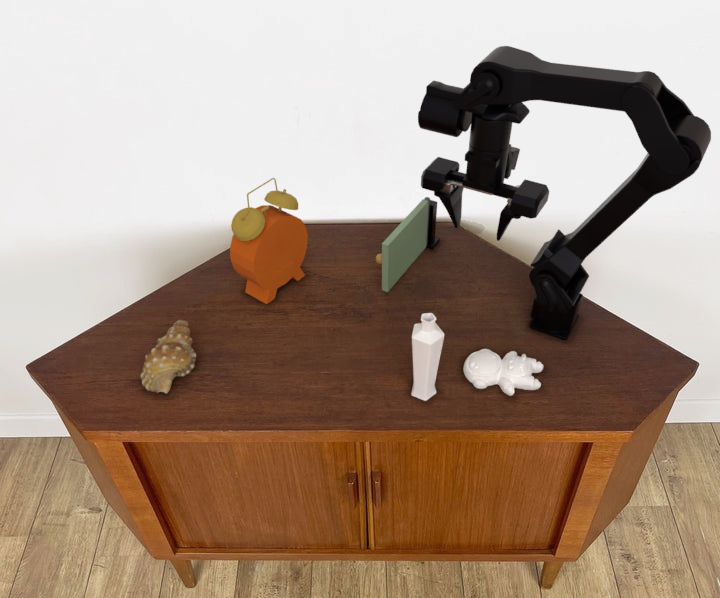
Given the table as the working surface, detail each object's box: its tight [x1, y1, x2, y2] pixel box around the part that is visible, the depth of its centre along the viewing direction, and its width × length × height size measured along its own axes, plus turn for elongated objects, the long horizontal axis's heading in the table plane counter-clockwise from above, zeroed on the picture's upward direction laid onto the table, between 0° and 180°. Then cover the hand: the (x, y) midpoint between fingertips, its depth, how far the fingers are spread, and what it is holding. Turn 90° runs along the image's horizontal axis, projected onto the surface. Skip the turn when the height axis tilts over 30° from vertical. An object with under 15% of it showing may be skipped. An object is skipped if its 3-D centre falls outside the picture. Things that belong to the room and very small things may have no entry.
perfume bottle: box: [410, 312, 445, 402], centre depth 96 cm, size 5×4×15 cm
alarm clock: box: [229, 177, 309, 305], centre depth 113 cm, size 13×6×20 cm, turn 141°
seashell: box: [140, 319, 197, 395], centre depth 104 cm, size 9×8×10 cm
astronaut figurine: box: [462, 348, 544, 397], centre depth 102 cm, size 9×12×3 cm
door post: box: [425, 199, 440, 251], centre depth 124 cm, size 3×3×9 cm
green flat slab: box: [375, 196, 431, 293], centre depth 118 cm, size 16×3×10 cm, turn 150°
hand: (478, 233), depth 107 cm, fingers open, 7 cm apart
